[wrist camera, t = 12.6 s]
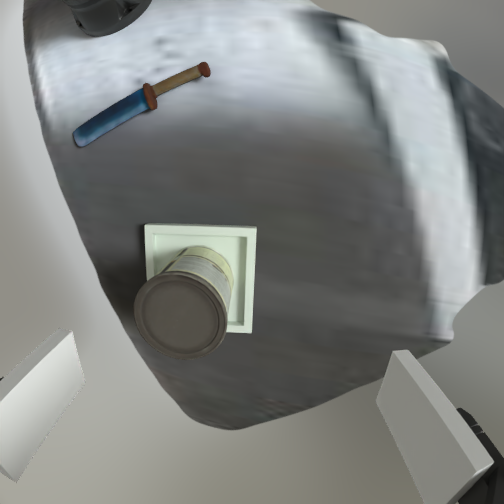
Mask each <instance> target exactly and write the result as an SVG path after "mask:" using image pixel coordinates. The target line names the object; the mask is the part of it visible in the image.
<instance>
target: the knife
mask: <svg viewBox="0 0 504 504" xmlns="http://www.w3.org/2000/svg"><path fill="white" fill-rule="evenodd" d="M202 75H203V76H204V77H209V76H210V68H209V66H208V64H207V63H206V62H201V63H200V64H199V65H197V66H194V67H192V68H190V69H187V70H185V71H183V72H181V73H178V74H176V75H174V76H172V77H170V78H168V79H165V80H163V81H161V82H159V83H157V84H155V85H153V86H150V84H148V83H145V84H144V85H143V88H142V89H140V90H138V91H136V92H134V93H133V94H131V95H129V96H127V97H126V98H124V99H122V100H120V101H119V102H117V103H115V104H114V105H112V106H110V107H109V108H107V109H105V110H104V111H102V112H101V113H99V114H98V115H96V116H94V117H93V118H91V119H90V120H88V121H87V122H85V123H84V124H83V125H81V126H80V127H78V128H77V129H76V130H75V131H74V132H73V135H74V139H75V141H76V143H77V144H78V146H85V145H87V144H89V143H90V142H92V141H93V140H95V139H96V138H98V137H99V136H101V135H103V134H104V133H106V132H108V131H109V130H111V129H113V128H114V127H116V126H118V125H119V124H121V123H123V122H125V121H126V120H128V119H130V118H132V117H134V116H135V115H137V114H139V113H141V112H143V111H145V110H147V109H149V108H150V109H151V110H155V109H157V100H156V98H157V96H158V95H160V94H162V93H164V92H166V91H169V90H171V89H173V88H175V87H177V86H179V85H182V84H184V83H186V82H188V81H191V80H193V79H195V78H198V77H200V76H202Z"/></svg>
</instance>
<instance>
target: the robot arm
mask: <svg viewBox="0 0 504 504" xmlns="http://www.w3.org/2000/svg"><path fill="white" fill-rule="evenodd" d="M62 1H63V2H65V3H66V4H67V5H68V6H69V7H71V10H72V12H73V15H74V18H75V20H76V23H77V25H78V27H79V28H80V29H81V30H82V31H84V32H85V33H86V34H88V35H91V36H104V35H108V34H112V33H114V32H117V31H119V30H121V29H123V28H125V27H126V26H128V25H129V24H131V23H132V22H133V21H135V20H136V19H137V18H138V17H139V16H140V15H141V14H142V13H143V12H144V11H145V10H146V9H147V8H148V6H149V5H150V3H151V1H152V0H62ZM85 383H86V381H85V378H84V375H83V371H82V368H81V364H80V360H79V357H78V353H77V350H76V345H75V341H74V337H73V332H72V331H69V330H65V329H60V328H59V329H58V330H56V331H55V332H54V333H53V334H52V335H51V336H49V337H48V338H47V339H46V340H45V341H44V342H43V343H41V344H40V345H39V346H38V347H37V348H36V349H35V350H33V351H32V352H31V353H30V354H29V355H28V356H27V357H26V358H25V359H23V360H22V361H21V362H20V363H19V364H18V365H17V366H16V367H15V368H14V369H13V370H11V372H9V373H8V374H7V375H6V376H5V377H2V378H0V471H1V473H2V474H4V475H5V476H7V477H8V478H9V479H11V480H13V481H14V482H16V483H17V481H18V480H19V478H20V476H21V475H22V473H23V472H24V470H25V468H26V467H27V465H28V464H29V462H30V461H31V459H32V458H33V456H34V455H35V453H36V452H37V450H38V449H39V447H40V446H41V444H42V443H43V441H44V440H45V438H46V437H47V436H48V434H49V433H50V431H51V430H52V428H53V427H54V425H55V424H56V423H57V421H58V420H59V418H60V417H61V415H62V414H63V413H64V411H65V410H66V408H67V407H68V406H69V404H70V403H71V402H72V400H73V399H74V397H75V396H76V395H77V393H78V392H79V391H80V389H81V388H82V387H83V385H84V384H85ZM376 404H377V406H378V408H379V410H380V412H381V414H382V415H383V417H384V420H385V421H386V424H387V425H388V428H389V430H390V432H391V434H392V436H393V438H394V440H395V442H396V444H397V446H398V448H399V450H400V452H401V455H402V457H403V459H404V461H405V463H406V465H407V467H408V469H409V472H410V474H411V476H412V478H413V480H414V482H415V485H416V487H417V489H418V491H419V494H420V496H421V498H422V500H423V503H424V504H455V503H456V502H457V501H458V502H459V504H504V458H503V457H502V455H501V454H500V453H499V451H498V450H497V448H496V447H495V446H494V444H493V443H492V442H491V440H490V439H489V438H488V436H487V435H486V434H485V433H483V430H482V428H481V427H480V426H479V425H477V424H478V423H477V422H476V421H475V419H474V418H473V417H472V416H471V415H470V414H469V413H468V412H466V411H465V410H463V409H462V408H458V409H455V407H454V406H453V405H452V403H451V402H450V401H449V400H448V398H447V397H446V396H445V395H444V393H443V392H442V391H441V389H440V388H439V387H438V386H437V384H436V383H435V382H434V381H433V380H432V378H431V377H430V376H429V375H428V373H427V372H426V371H425V370H424V368H423V367H422V366H421V365H420V364H419V362H418V361H417V360H416V359H415V358H414V356H413V355H412V354H411V353H410V352H409V350H400V351H393V352H392V355H391V358H390V361H389V364H388V367H387V370H386V373H385V376H384V379H383V382H382V385H381V388H380V390H379V393H378V396H377V398H376Z"/></svg>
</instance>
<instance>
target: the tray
mask: <svg viewBox="0 0 504 504" xmlns="http://www.w3.org/2000/svg"><path fill="white" fill-rule="evenodd" d="M256 229H257V228H256V226H234V225H205V224H168V223H148V224H146V225H145V253H146V272H147V281H148V280H149V279H150V278H152V277H153V276H155V275H156V274H157V273H158V272H159V271H160V270H161V269H162V268H163V267H164V266H165V265H166V264H167V263H168V262H169V261H170V260H171V259H172V258H173V257H174V256H175V255H176V254H177V253H178V252H179V251H181V250H182V249H184V248H186V247H189V246H195V245H204V246H207V247H211V248H213V249H215V250H217V251H218V252H220V253H221V254H222V255H223V256H224V257H225V258H226V259H227V260H228V262H229V263H230V265H231V268H232V270H233V274H234V286H233V289H232V294H231V300H230V306H229V312H228V323H227V330H226V332H238V333H252V315H253V294H254V273H255V251H256Z"/></svg>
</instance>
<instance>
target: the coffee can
mask: <svg viewBox="0 0 504 504" xmlns="http://www.w3.org/2000/svg"><path fill="white" fill-rule="evenodd" d="M233 286H234V274H233V270H232V268H231V265H230V263H229V262H228V260H227V259H226V258H225V257H224V256H223V255H222V254H221V253H220V252H218V251H217V250H215V249H213V248H211V247H207V246H204V245H195V246H189V247H186V248H184V249H182V250H181V251H179V252H178V253H177V254H176V255H175V256H174V257H173V258H172V259H171V260H170V261H169V262H168V263H167V264H166V265H165V266H164V267H163V268H162V269H161V270H160V271H159V272H158V273H157V274H156V275H155V276H153V277H152V278H150V279H149V280H148V281H147V282H146V283H144V285H143V286H142V287H141V288H140V289H139V291H138V293H137V295H136V298H135V301H134V308H133V311H134V319H135V323H136V326H137V328H138V331H139V332H140V334H141V335H142V337H143V338H144V339H145V341H146V342H147V343H148V344H149V345H150V346H152V347H153V348H154V349H155V350H157V351H158V352H160V353H162V354H164V355H166V356H169V357H172V358H176V359H182V360H191V359H198V358H201V357H204V356H206V355H208V354H210V353H211V352H213V351H214V350H215V349H216V348H217V347H218V346H219V345H220V344H221V342H222V341H223V339H224V337H225V334H226V330H227V323H228V312H229V306H230V300H231V294H232V289H233Z"/></svg>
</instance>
